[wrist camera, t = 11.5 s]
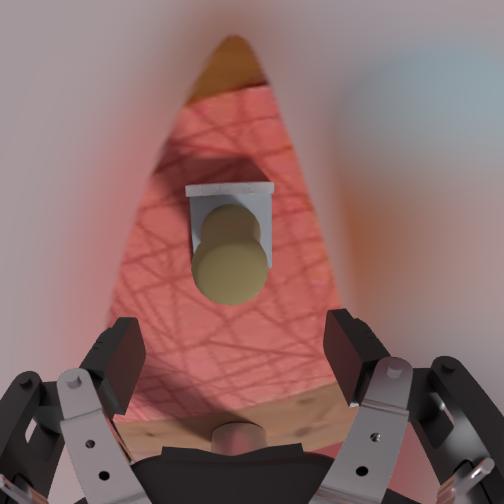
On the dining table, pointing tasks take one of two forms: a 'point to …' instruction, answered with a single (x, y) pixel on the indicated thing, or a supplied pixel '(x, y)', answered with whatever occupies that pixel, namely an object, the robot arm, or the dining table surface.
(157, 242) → the dining table surface
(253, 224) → the cork
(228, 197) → the slate shelf board
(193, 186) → the rail
